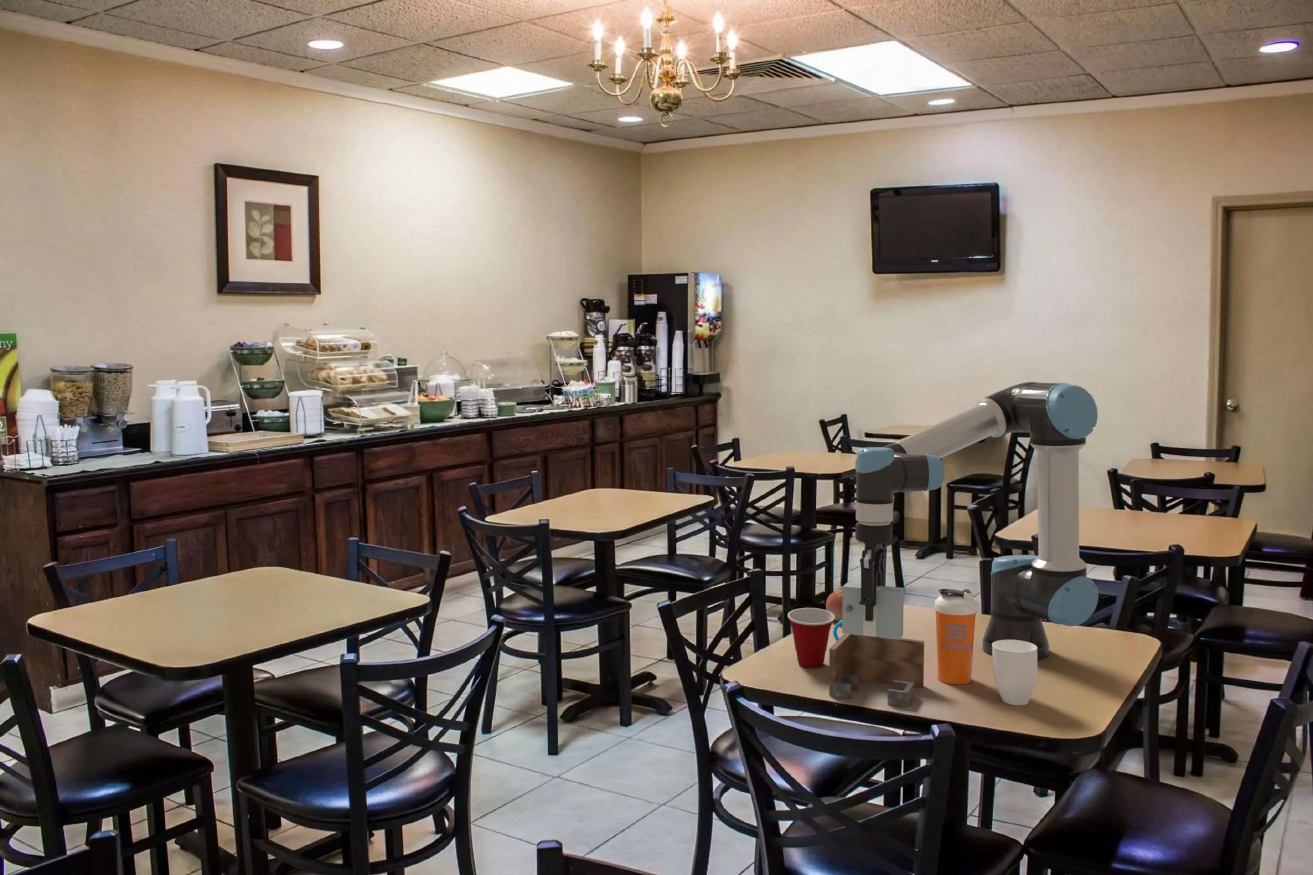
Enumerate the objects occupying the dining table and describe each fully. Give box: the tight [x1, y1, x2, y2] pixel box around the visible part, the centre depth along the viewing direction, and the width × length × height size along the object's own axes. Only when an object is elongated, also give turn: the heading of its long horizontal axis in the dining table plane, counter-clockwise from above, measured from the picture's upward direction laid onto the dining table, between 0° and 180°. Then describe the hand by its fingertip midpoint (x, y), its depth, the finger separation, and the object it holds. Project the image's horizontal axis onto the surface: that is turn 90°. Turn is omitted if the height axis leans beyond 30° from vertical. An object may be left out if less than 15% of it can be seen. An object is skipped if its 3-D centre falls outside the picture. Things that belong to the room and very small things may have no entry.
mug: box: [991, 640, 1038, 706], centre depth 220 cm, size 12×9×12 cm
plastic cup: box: [787, 607, 835, 669], centre depth 244 cm, size 11×11×12 cm
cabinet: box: [828, 633, 925, 708], centre depth 225 cm, size 17×15×10 cm
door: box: [841, 582, 905, 640], centre depth 220 cm, size 12×4×10 cm, turn 65°
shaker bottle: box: [934, 588, 978, 685], centre depth 232 cm, size 9×9×20 cm
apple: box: [825, 590, 843, 622], centre depth 281 cm, size 9×9×8 cm
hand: (872, 632), depth 221 cm, fingers closed on door, 3 cm apart
